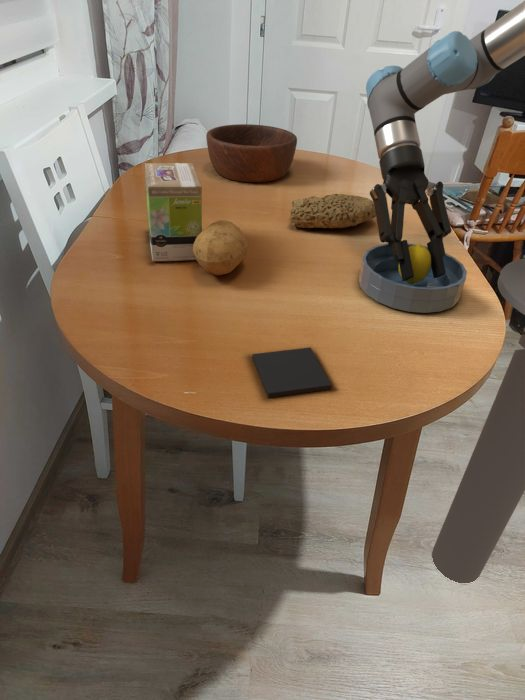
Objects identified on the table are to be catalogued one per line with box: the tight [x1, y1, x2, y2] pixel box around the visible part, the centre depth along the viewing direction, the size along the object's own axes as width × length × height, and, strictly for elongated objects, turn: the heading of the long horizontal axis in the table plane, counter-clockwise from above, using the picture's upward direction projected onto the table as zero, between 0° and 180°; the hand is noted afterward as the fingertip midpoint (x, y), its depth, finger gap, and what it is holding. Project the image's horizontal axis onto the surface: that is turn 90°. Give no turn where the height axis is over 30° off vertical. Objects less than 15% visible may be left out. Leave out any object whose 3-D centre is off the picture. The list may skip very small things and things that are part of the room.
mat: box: [251, 347, 333, 399], centre depth 73 cm, size 9×9×1 cm
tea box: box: [144, 162, 203, 262], centre depth 102 cm, size 15×10×15 cm, turn 12°
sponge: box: [289, 193, 376, 229], centre depth 117 cm, size 13×8×20 cm
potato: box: [193, 219, 248, 276], centre depth 96 cm, size 10×14×8 cm
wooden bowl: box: [205, 123, 298, 183], centre depth 145 cm, size 25×25×10 cm
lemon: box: [399, 243, 431, 285], centre depth 93 cm, size 6×6×8 cm
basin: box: [358, 243, 468, 314], centre depth 94 cm, size 18×18×5 cm
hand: (424, 276), depth 90 cm, fingers closed on lemon, 5 cm apart
